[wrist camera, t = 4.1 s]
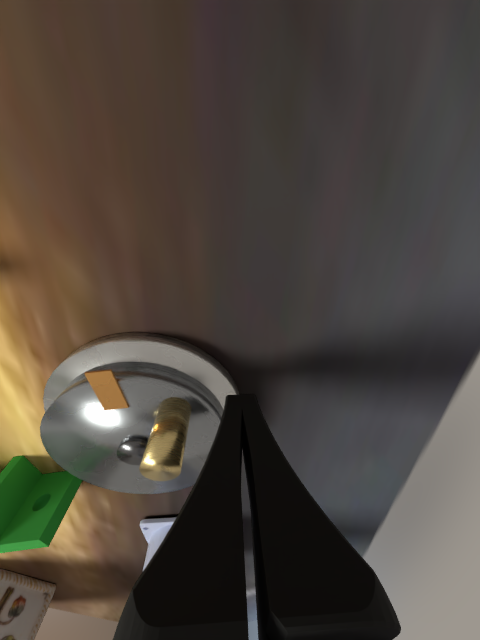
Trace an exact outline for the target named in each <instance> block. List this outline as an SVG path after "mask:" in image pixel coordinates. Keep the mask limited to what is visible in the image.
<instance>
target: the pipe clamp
mask: <svg viewBox="0 0 480 640" xmlns="http://www.w3.org/2000/svg"><path fill="white" fill-rule="evenodd" d="M82 481H83V480H81V479H79V478H77V477H76V476H74V475H72V474H70V473H69V472H67V471H62V472H55V473H48V474H42V473H41V472H40V471H39V470H38V469H37V468H36V467H35V466H34V465H32V464H31V463H30V462H29V461H28V460H27V459H26V458H25V457H24V456H16V457H13V458H12V460H11V461H10V462H9V463H8V464H7V466H6V467H5V468H4V469H3V470H2V472H1V473H0V553H5V552H12V551H19V550H27V549H34V548H42V547H49V545H50V543H51V541H52V539H53V537H54V535H55V533H56V531H57V529H58V527H59V525H60V523H61V521H62V519H63V518H64V516H65V514H66V512H67V510H68V508H69V506H70V504H71V502H72V500H73V498H74V496H75V494H76V492H77V490H78V488H79V486H80V484H81V482H82Z"/></svg>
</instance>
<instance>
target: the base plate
mask: <svg viewBox="0 0 480 640" xmlns="http://www.w3.org/2000/svg"><path fill="white" fill-rule="evenodd" d="M130 361H131V362H147V363H153V364H159V365H163V366H167V367H170V368H173V369H176V370H179V371H181V372H183V373H185V374H187V375H189V376H191V377H193V378H195V379H196V380H198V381H199V382H201V383H202V384H203V385H205V386H206V387H207V388H208V389H209V390H210V391H211V392H212V393H213V394H214V395H215V396H216V398H217V399H218V400H219V402H220V404H221V406H222V408H223V410H224V405H225V398H226V396H227V395H239V391H238V388H237V386H236V384H235V382H234V380H233V378H232V377H231V375H230V374H229V372H228V371H227V370H226V369H225V368H224V367H223V366H222V364H221V363H220V362H218V361H217V360H216V359H215V358H213V357H212V356H211V355H210V354H208V353H206V352H205V351H203V350H202V349H200V348H198V347H196V346H194V345H192V344H190V343H188V342H185V341H182V340H179V339H176V338H173V337H169V336H164V335H160V334H152V333H139V332H130V333H118V334H113V335H108V336H104V337H101V338H98V339H95V340H92V341H90V342H88V343H86V344H84V345H82V346H80V347H79V348H78V349H76V350H75V351H74V352H72V353H71V354H70V355H69V356H68V357H67V358H66V359H65V360H64V361H63V362H62V363H61V364H60V365H59V366H58V367H57V368H56V369H55V371H54V372H53V373H52V375H51V376H50V378H49V379H48V381H47V384H46V387H45V390H44V398H43V400H44V409H45V412H46V411H47V409H48V408H49V407H50V406H51V404H52V403H53V402H54V401H55V400H56V398H57V397H58V396H59V395H60V394H61V393H62V391H63V390H64V389H65V388H66V387H67V386H68V384H69V383H70V382H71V381H73V380H74V379H75V378H76V377H77V376H79V375H81V374H82V373H84V372H85V371H88V370H90V369H92V368H95V367H98V366H101V365H105V364H110V363H116V362H130Z"/></svg>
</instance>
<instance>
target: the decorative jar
mask: <svg viewBox="0 0 480 640" xmlns="http://www.w3.org/2000/svg"><path fill="white" fill-rule="evenodd" d="M55 589H56V585H55V584H52V583H48V582H45V581H42V580H38V579H35V578H32V577H28V576H25V575H22V574H18V573H15V572H11V571H7V570H4V569H0V640H34V639H35V637H36V634H37V632H38V630H39V627H40V625H41V623H42V621H43V618H44V616H45V614H46V612H47V609H48V607H49V604H50V602H51V600H52V597H53V595H54V592H55Z"/></svg>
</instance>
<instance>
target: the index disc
mask: <svg viewBox="0 0 480 640" xmlns="http://www.w3.org/2000/svg"><path fill="white" fill-rule="evenodd" d="M222 414H223V408H222V406H221V404H220V402H219V400H218V399H217V398H216V396H215V395H214V394H213V393H212V392H211V391H210V390H209V389H208V388H207V387H206V386H205V385H203V384H202V383H201V382H199V381H198V380H196V379H195V378H193V377H191V376H189V375H187V374H185V373H183V372H181V371H179V370H176V369H173V368H170V367H167V366H163V365H159V364H153V363H147V362H131V361H130V362H116V363H110V364H105V365H101V366H98V367H95V368H92V369H90V370H88V371H85V372H84V373H82V374H81V375H79V376H77V377H76V378H75V379H74V380H73V381H71V382H70V383H69V384H68V386H67V387H66V388H65V389H64V390H63V391H62V393H61V394H60V395H59V396H58V397H57V398H56V400H55V401H54V402H53V403H52V404H51V406H50V407H49V408H48V409H47V411H46V412H45V414H44V416H43V418H42V421H41V426H40V433H41V439H42V443H43V445H44V447H45V449H46V451H47V452H48V453H49V455H50V456H51V458H52V459H53V460H54V461H55V462H56V463H57V464H58V465H60V466H61V467H62V468H63V469H64V470H66V471H67V472H69V473H70V474H72V475H74V476H76V477H77V478H79V479H81V480H83V481H86V482H88V483H90V484H93V485H96V486H99V487H102V488H106V489H109V490H114V491H119V492H126V493H136V494H156V493H166V492H172V491H176V490H181V489H184V488H187V487H190V486H192V485H195V483H196V480H197V478H198V476H199V474H200V472H201V470H202V468H203V466H204V463H205V461H206V459H207V457H208V454H209V452H210V449H211V447H212V444H213V442H214V439H215V436H216V433H217V430H218V427H219V424H220V421H221V418H222Z"/></svg>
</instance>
